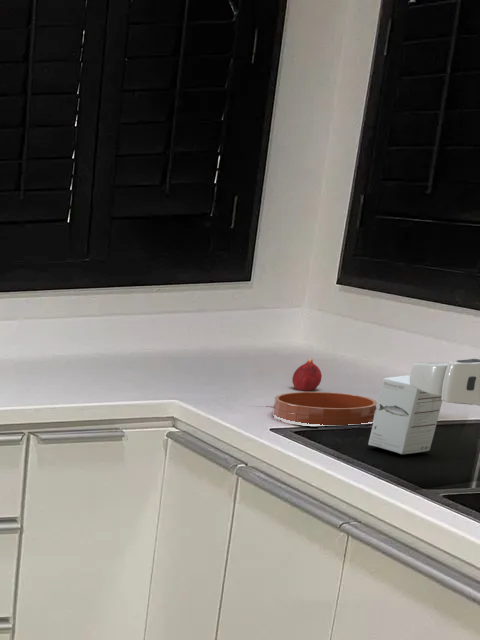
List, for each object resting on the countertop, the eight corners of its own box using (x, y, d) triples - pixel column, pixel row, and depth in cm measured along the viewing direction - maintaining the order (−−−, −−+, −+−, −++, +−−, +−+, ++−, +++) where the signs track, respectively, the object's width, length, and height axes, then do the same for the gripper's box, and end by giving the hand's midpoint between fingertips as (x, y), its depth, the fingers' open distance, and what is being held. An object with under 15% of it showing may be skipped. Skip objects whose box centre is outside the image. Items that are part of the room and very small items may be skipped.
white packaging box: (366, 445, 216) (381, 377, 212) (395, 441, 219) (411, 374, 214) (401, 455, 210) (418, 385, 205) (431, 451, 212) (448, 382, 208)
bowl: (379, 415, 242) (383, 396, 240) (366, 432, 228) (370, 411, 227) (282, 407, 252) (284, 389, 251) (263, 423, 238) (266, 404, 237)
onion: (321, 397, 262) (329, 361, 259) (294, 396, 263) (301, 361, 259) (313, 392, 267) (320, 356, 264) (286, 391, 268) (292, 356, 265)
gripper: (577, 359, 183) (521, 347, 196) (443, 362, 184) (396, 350, 197) (568, 400, 185) (513, 384, 198) (435, 402, 186) (389, 387, 199)
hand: (453, 367), depth 197 cm, fingers open, 8 cm apart
